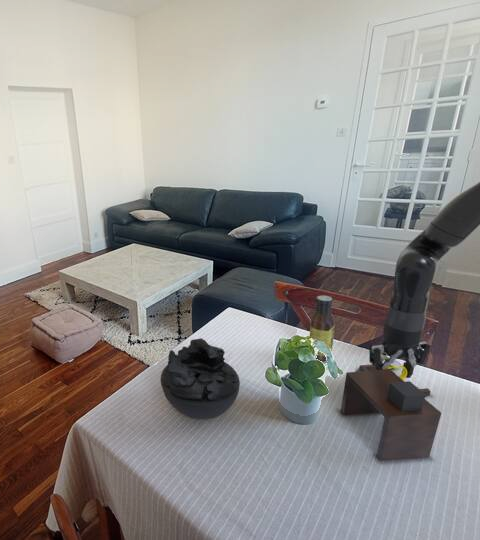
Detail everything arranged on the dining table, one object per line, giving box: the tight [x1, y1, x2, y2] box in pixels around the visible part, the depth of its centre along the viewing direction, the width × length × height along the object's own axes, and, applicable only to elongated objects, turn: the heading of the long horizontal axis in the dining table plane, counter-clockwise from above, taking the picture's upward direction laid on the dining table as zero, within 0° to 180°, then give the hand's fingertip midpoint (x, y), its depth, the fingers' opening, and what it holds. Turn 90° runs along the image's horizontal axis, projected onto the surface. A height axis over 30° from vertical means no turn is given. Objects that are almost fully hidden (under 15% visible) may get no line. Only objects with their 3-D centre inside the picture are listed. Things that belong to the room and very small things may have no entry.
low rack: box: [358, 363, 432, 397], centre depth 91 cm, size 10×12×2 cm
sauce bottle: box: [309, 294, 336, 361], centre depth 102 cm, size 7×6×20 cm
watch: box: [386, 360, 407, 381], centre depth 91 cm, size 6×3×6 cm, turn 87°
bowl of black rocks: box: [160, 337, 241, 420], centre depth 87 cm, size 20×20×19 cm
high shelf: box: [340, 369, 442, 462], centre depth 75 cm, size 10×14×12 cm
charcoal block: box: [387, 380, 426, 412], centre depth 69 cm, size 4×4×4 cm
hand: (393, 376), depth 91 cm, fingers closed on watch, 6 cm apart
